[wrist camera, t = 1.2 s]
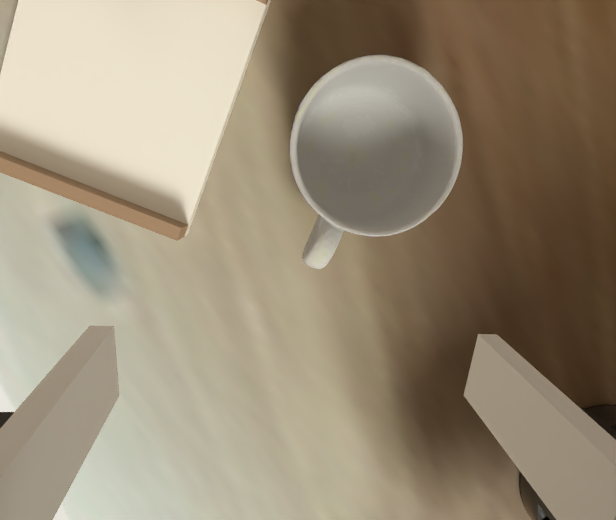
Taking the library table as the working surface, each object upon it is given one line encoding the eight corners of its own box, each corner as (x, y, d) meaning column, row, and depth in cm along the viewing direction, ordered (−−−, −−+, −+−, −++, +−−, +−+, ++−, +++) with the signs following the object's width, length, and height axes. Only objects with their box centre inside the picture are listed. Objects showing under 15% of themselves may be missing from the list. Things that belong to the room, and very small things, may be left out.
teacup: (348, 53, 30) (367, 10, 22) (452, 146, 32) (503, 135, 24) (239, 199, 32) (221, 206, 24) (342, 278, 34) (357, 309, 26)
